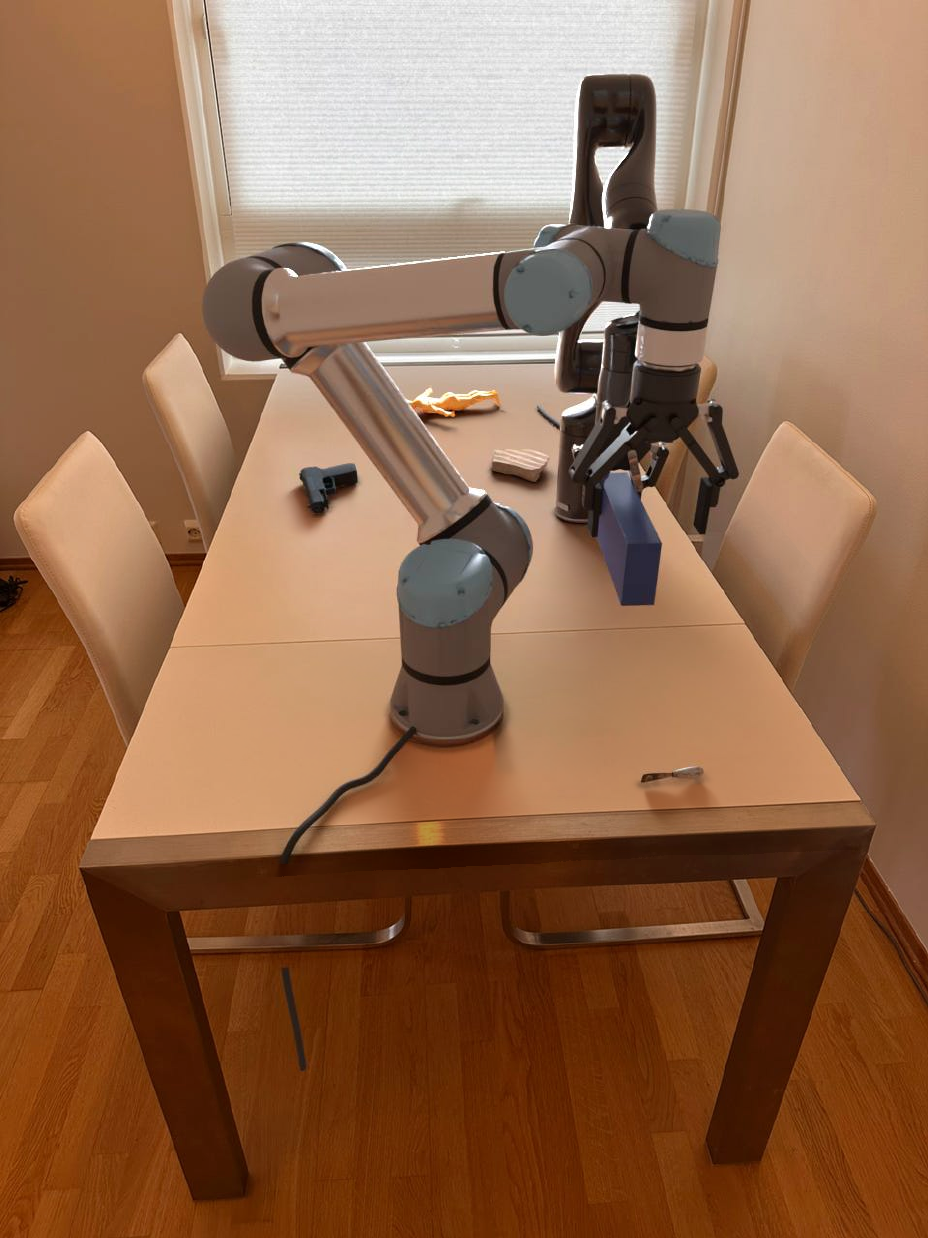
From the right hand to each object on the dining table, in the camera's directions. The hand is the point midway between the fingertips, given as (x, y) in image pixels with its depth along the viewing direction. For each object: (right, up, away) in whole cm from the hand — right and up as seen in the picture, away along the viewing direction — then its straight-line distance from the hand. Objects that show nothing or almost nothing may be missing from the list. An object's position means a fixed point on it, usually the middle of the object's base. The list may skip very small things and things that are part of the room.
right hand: (614, 512), depth 131 cm
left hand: (+1, -5, -19) cm, 20 cm away
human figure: (-25, +37, +95) cm, 105 cm away
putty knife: (+3, -36, -21) cm, 42 cm away
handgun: (-49, +10, +51) cm, 72 cm away
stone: (-10, +16, +62) cm, 65 cm away
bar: (0, -8, -4) cm, 9 cm away
